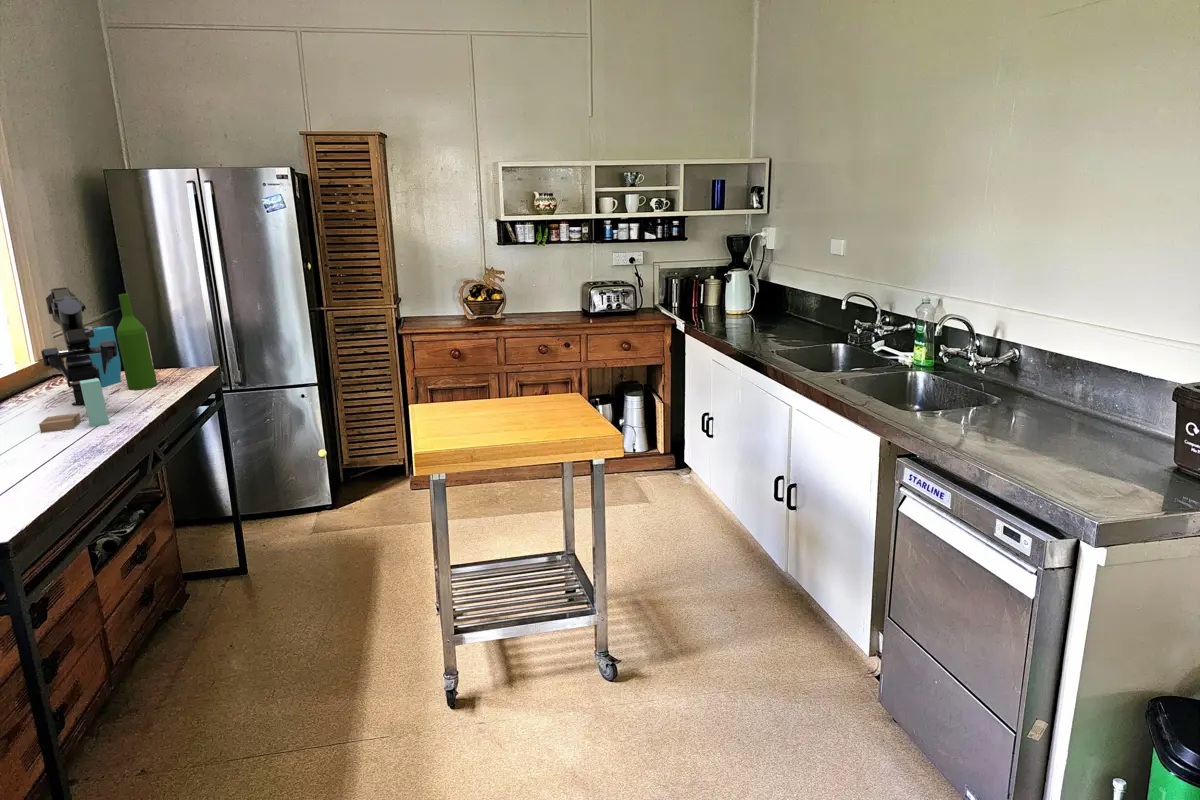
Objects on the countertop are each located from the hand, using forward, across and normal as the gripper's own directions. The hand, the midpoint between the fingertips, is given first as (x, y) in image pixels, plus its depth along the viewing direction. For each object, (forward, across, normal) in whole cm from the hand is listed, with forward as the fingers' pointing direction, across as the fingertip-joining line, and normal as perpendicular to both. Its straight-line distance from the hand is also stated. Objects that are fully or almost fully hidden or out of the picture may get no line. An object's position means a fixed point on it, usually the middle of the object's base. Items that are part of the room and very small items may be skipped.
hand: (86, 376), depth 229 cm
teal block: (+15, 0, +3) cm, 15 cm away
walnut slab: (+12, -9, +6) cm, 16 cm away
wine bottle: (-14, +17, +36) cm, 42 cm away
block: (-24, +8, +47) cm, 54 cm away
